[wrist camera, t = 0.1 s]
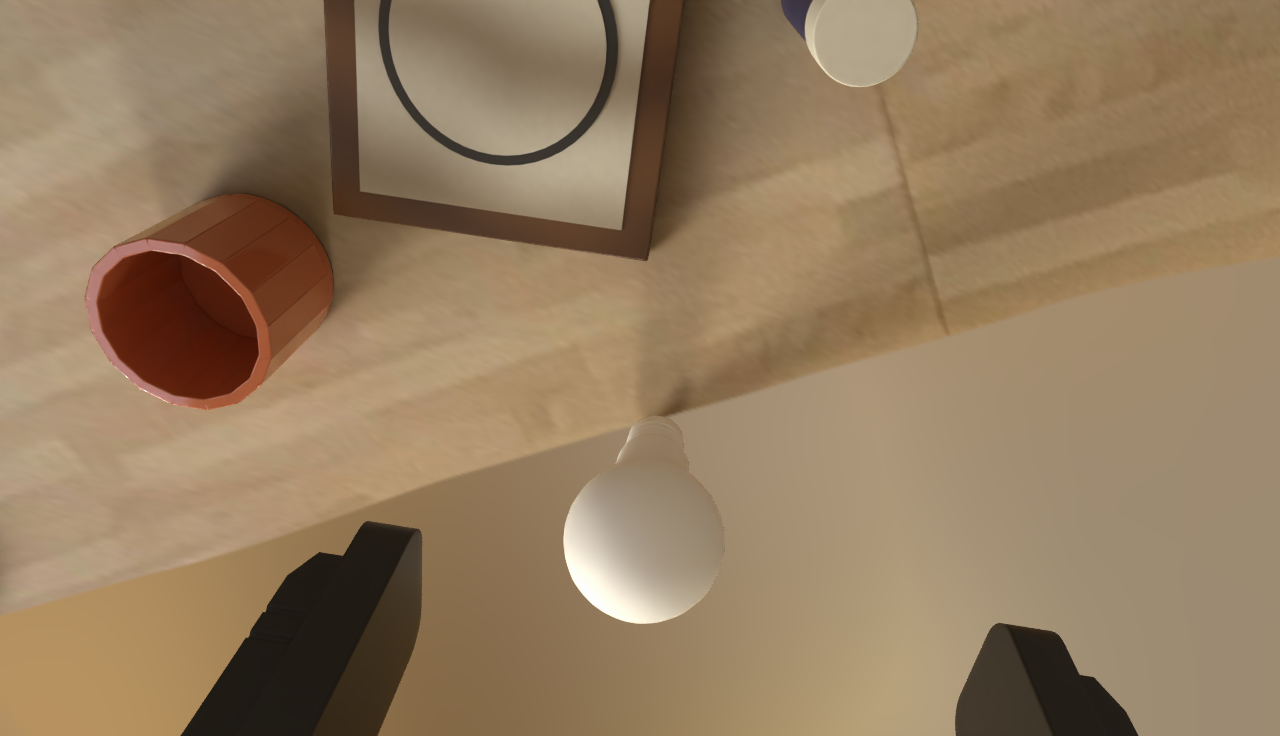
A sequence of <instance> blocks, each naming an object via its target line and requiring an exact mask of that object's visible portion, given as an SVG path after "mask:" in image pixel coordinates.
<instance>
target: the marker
mask: <svg viewBox="0 0 1280 736" xmlns="http://www.w3.org/2000/svg"><path fill="white" fill-rule="evenodd" d="M781 3H782V9H783V12H784V14H785V16H786V18H787V19H788V20H789V22H790V23H791V24H792V25H793V27H794V28H795V29H796V30H797V31H798V33H799V34H800V35H801V36H802V38H803V39H804V40H805V41H806V42H807V46H808V48H809V51H810V52H811V54H812V56H813V57H814V59H815V60H816V61H817V63H818V64H819V65H820V66H821V68H822V69H823V70H824V71H825V72H826V73H827V74H828V75H829V76H830V77H831V78H832V79H834V80H835V81H837V82H839V83H841V84H844V85H847V86H852V87H867V86H872V85H875V84H878V83H881V82H883V81H885V80H887V79H888V78H890V77H891V76H893V75H894V74H895V73H896V72H898V71H899V70H900V69H901V68H902V67H903V65H904V64H905V63H906V61H907V60H908V58H909V57H910V55H911V53H912V51H913V49H914V46H915V43H916V40H917V35H918V16H917V11H916V8H915V5H914V3H913V1H912V0H781Z"/></svg>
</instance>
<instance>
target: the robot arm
mask: <svg viewBox="0 0 1280 736" xmlns="http://www.w3.org/2000/svg"><path fill="white" fill-rule="evenodd" d="M421 597H422V534H421V531H420V530H419V529H415V528H409V527H402V526H396V525H390V524H383V523H377V522H371V521H366V522H365V523H363V525H362V526H361V527H360V529H359V530H358V532H357V534H356V535H355V537H354V539H353V540H352V542H351V544H350V545H349V547H348V549H347V550H346V552H345V554H344V555H343V556H340V555H334V554H327V553H321V552H319V553H318V554H316V555H315V556H313V557H312V558H311V559H309V560H308V561H307V562H305V563H304V564H303V565H301V566H300V567H298V568H297V569H296V570H294V571H293V572H292V573H290V574H289V575H287V577H286V578H285V580H284V582H283V583H282V584H281V586H280V587H279V589H278V590H277V592H276V593H275V595H274V596H273V598H272V599H271V601H270V602H269V604H268V605H267V609H266V612H263V613H262V614H261V616H260V617H259V619H258V620H257V622H256V623H255V625H254V626H253V628H252V629H251V632H250V636H249V638H246V639H245V640H244V641H243V643H242V645H241V646H240V647H239V649H238V651H237V652H236V654H235V655H234V657H233V658H232V659H231V661H230V662H229V664H228V666H227V667H226V668H225V670H224V671H223V673H222V674H221V676H220V677H219V679H218V681H217V682H216V684H215V685H214V687H213V688H212V690H211V691H210V693H209V694H208V696H207V697H206V699H205V700H204V702H203V703H202V705H201V706H200V708H199V709H198V711H197V712H196V714H195V715H194V717H193V718H192V720H191V721H190V723H189V724H188V726H187V727H186V729H185V730H184V732H183V733H182V735H181V736H378V733H379V731H380V728H381V726H382V724H383V721H384V719H385V717H386V714H387V712H388V709H389V707H390V705H391V702H392V700H393V698H394V695H395V693H396V690H397V688H398V686H399V683H400V681H401V679H402V676H403V673H404V671H405V669H406V667H407V664H408V662H409V659H410V657H411V654H412V651H413V649H414V645H415V642H416V638H417V634H418V630H419V625H420V618H421V601H422V598H421ZM955 730H956V736H1138V734H1137V732H1136V730H1135V728H1134V726H1133V724H1132V723H1131V721H1130V719H1129V717H1128V715H1127V713H1126V711H1125V710H1124V709H1123V708H1122V707H1121V706H1120V705H1119V704H1118V703H1117V702H1116V701H1115V699H1114V698H1113V697H1112V696H1111V695H1110V694H1109V693H1108V692H1107V691H1106V690H1105V689H1104V688H1103V687H1102V686H1101V684H1100V683H1099V682H1098V681H1097V680H1096V679H1095V678H1094V677H1089V676H1082V675H1079V673H1078V671H1077V669H1076V667H1075V665H1074V663H1073V661H1072V658H1071V656H1070V654H1069V652H1068V650H1067V648H1066V646H1065V644H1064V642H1063V640H1062V639H1061V637H1060V636H1059V635H1058V634H1056V633H1055V632H1052V631H1047V630H1040V629H1034V628H1028V627H1021V626H1015V625H1009V624H1003V623H997V624H995V625H994V626H993V627H992V628H991V629H990V631H989V633H988V635H987V637H986V639H985V641H984V644H983V646H982V648H981V650H980V653H979V655H978V657H977V659H976V661H975V663H974V666H973V668H972V670H971V672H970V674H969V677H968V679H967V682H966V683H965V686H964V688H963V690H962V692H961V694H960V697H959V700H958V703H957V709H956V716H955Z"/></svg>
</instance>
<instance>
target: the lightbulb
mask: <svg viewBox="0 0 1280 736" xmlns="http://www.w3.org/2000/svg"><path fill="white" fill-rule="evenodd" d="M724 548H725V547H724V526H723V523H722V519H721V516H720V513H719V510H718V508H717V506H716V504H715V502H714V500H713V498H712V496H711V495H710V493H709V492H708V491H707V490H706V489H705V488H704V486H703V485H702V484H701V483H700V482H699V481H698V480H697V479H696V478H695V477H694V476H693V475H691V474H690V473H689V462H688V459H687V456H686V454H685V452H684V444H683V436H682V432H681V430H680V428H679V427H678V426H677V425H676V424H675V423H674V422H673V421H671V420H669V419H668V418H665V417H661V416H649V417H645V418H642V419H640V420H639V421H637V422H636V423H635V424H634V425H633V426H632V428H631V430H630V432H629V435H628V438H627V442H626V444H625V446H624V447H623V448H622V449H621V451H620V453H619V455H618V458H617V461H616V464H614V465H612V466H611V467H609V468H608V469H606V470H604V471H603V472H601V473H599V474H598V475H596V476H595V477H594V478H592V479H591V480H590V481H589V482H588V483H587V484H586V485H585V486H584V488H583V489H582V491H581V492H580V493H579V495H578V496H577V498H576V499H575V501H574V502H573V504H572V506H571V508H570V511H569V513H568V516H567V520H566V524H565V531H564V550H565V558H566V562H567V565H568V569H569V571H570V574H571V576H572V579H573V581H574V582H575V584H576V585H577V587H578V588H579V590H580V591H581V592H582V594H583V595H584V596H585V597H586V598H587V599H588V600H589V601H590V602H591V603H592V604H593V605H594V606H596V607H597V608H598V609H600V610H601V611H603V612H605V613H606V614H608V615H610V616H612V617H614V618H617V619H620V620H623V621H626V622H632V623H647V624H649V623H656V622H661V621H664V620H668V619H671V618H674V617H676V616H678V615H680V614H682V613H684V612H686V611H687V610H689V609H690V608H691V607H692V606H694V605H695V604H696V603H698V602H699V601H700V600H701V599H702V598H703V597H704V596H705V595H706V593H707V592H708V591H709V589H710V588H711V586H712V584H713V583H714V581H715V579H716V577H717V575H718V573H719V570H720V567H721V563H722V559H723V555H724V551H725V549H724Z"/></svg>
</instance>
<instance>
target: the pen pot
mask: <svg viewBox="0 0 1280 736" xmlns="http://www.w3.org/2000/svg"><path fill="white" fill-rule="evenodd" d="M333 291H334V282H333V273H332V269H331V265H330V262H329V260H328V257H327V254H326V252H325V250H324V249H323V247H322V245H321V243H320V242H319V240H318V239H317V237H316V236H315V234H314V233H313V232H312V231H311V230H310V229H309V227H308V226H307V225H306V224H305V223H304V222H302V221H301V220H300V219H299V218H298V217H297V216H295V215H294V214H293V213H292V212H290V211H289V210H287V209H285V208H284V207H282V206H281V205H279V204H276V203H274V202H272V201H270V200H267V199H264V198H261V197H258V196H254V195H249V194H239V193H234V194H223V195H218V196H215V197H212V198H209V199H207V200H205V201H203V202H199V203H196V204H194V205H192V206H190V207H188V208H186V209H184V210H182V211H181V212H179V213H177V214H175V215H173V216H171V217H169V218H167V219H165V220H163V221H161V222H160V223H158V224H156V225H154V226H152V227H150V228H148V229H146V230H144V231H142V232H141V233H139V234H137V235H135V236H133V237H131V238H129V239H127V240H125V241H123V242H121V243H120V244H118V245H116V246H114V247H113V248H112V249H111V250H110V251H109V252H108V253H107V254H105V255H104V256H103V257H102V258H101V259H100V260H99V261H98V262H97V263H96V264H95V265H94V266H93V268H92V271H91V275H90V278H89V282H88V286H87V290H86V294H85V303H86V308H87V313H88V318H89V323H90V328H91V331H92V333H93V335H94V337H95V338H96V340H97V341H98V343H99V345H100V346H101V348H102V350H103V351H104V353H105V355H106V356H107V358H108V359H109V361H110V362H111V363H112V364H113V365H114V366H115V367H116V368H117V369H118V370H119V371H120V372H122V373H123V374H124V375H125V376H126V377H127V378H128V379H129V380H131V381H132V382H133V383H134V384H135V385H136V386H137V387H139V388H140V389H142V390H144V391H146V392H148V393H150V394H152V395H154V396H156V397H158V398H160V399H162V400H164V401H166V402H168V403H171V404H174V405H178V406H185V407H192V408H198V409H205V410H207V409H208V410H209V409H214V408H219V407H223V406H228V405H233V404H237V403H239V402H241V401H242V400H243V399H245V398H246V397H247V396H248V395H250V394H251V393H252V392H253V391H255V390H256V389H257V388H259V387H260V386H261V385H262V384H263V383H264V382H265V381H266V380H267V379H268V378H269V377H270V376H271V375H272V374H273V373H274V372H275V371H276V370H277V369H278V368H279V367H280V366H281V365H282V364H283V363H284V362H285V361H286V360H287V359H288V358H289V357H290V356H291V355H292V354H293V353H294V352H295V351H296V350H297V349H298V348H299V347H300V346H301V345H302V344H303V343H304V342H305V341H306V340H307V339H308V338H309V337H310V336H311V335H312V334H313V333H314V332H315V331H316V330H317V329H318V327H319V326H320V324H321V323H322V322H323V320H324V319H325V317H326V315H327V314H328V312H329V309H330V306H331V303H332V299H333Z"/></svg>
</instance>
